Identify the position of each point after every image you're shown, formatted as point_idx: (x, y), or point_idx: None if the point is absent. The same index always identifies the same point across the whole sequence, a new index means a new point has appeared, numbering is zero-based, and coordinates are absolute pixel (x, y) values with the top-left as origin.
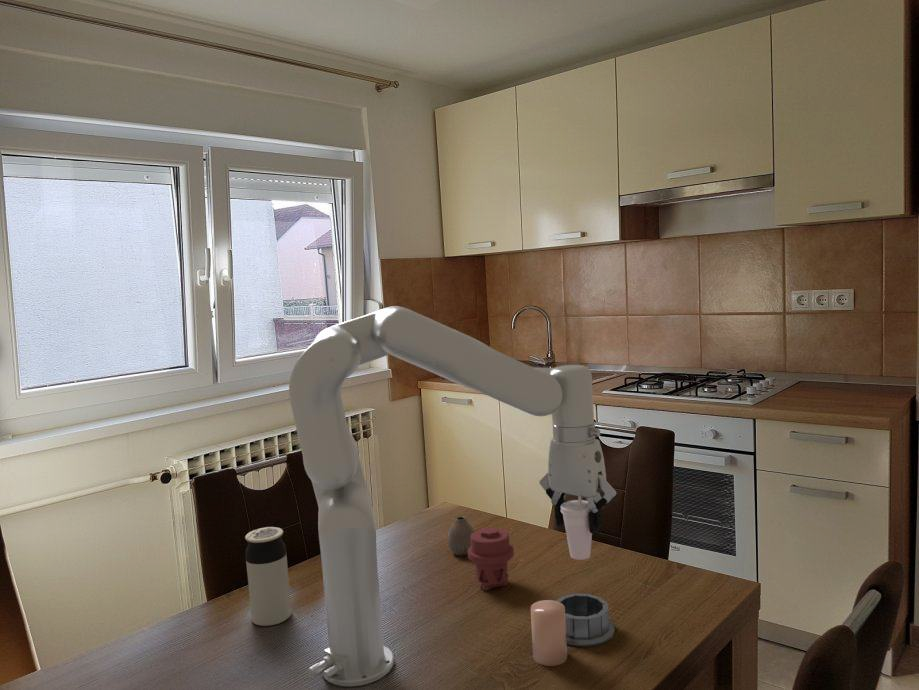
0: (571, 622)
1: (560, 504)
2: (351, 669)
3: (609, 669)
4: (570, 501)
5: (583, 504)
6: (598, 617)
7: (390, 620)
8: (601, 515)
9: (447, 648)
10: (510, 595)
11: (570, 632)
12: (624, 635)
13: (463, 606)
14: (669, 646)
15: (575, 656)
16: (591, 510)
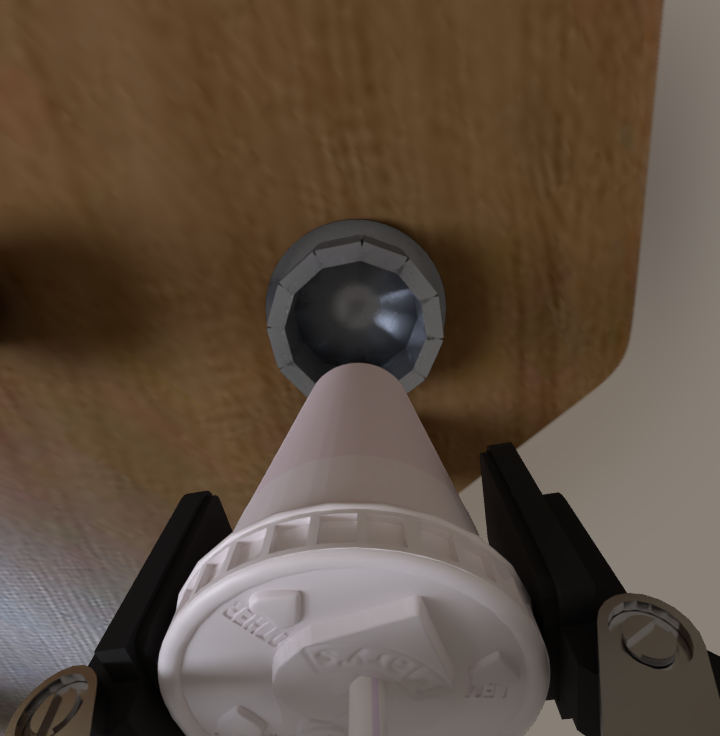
0: None
1: (172, 727)
2: None
3: (515, 396)
4: (180, 653)
5: (404, 677)
6: (439, 347)
7: (29, 570)
8: (602, 562)
9: None
10: (61, 308)
11: None
12: (459, 250)
13: (52, 435)
14: (588, 208)
15: (424, 409)
16: (566, 698)
